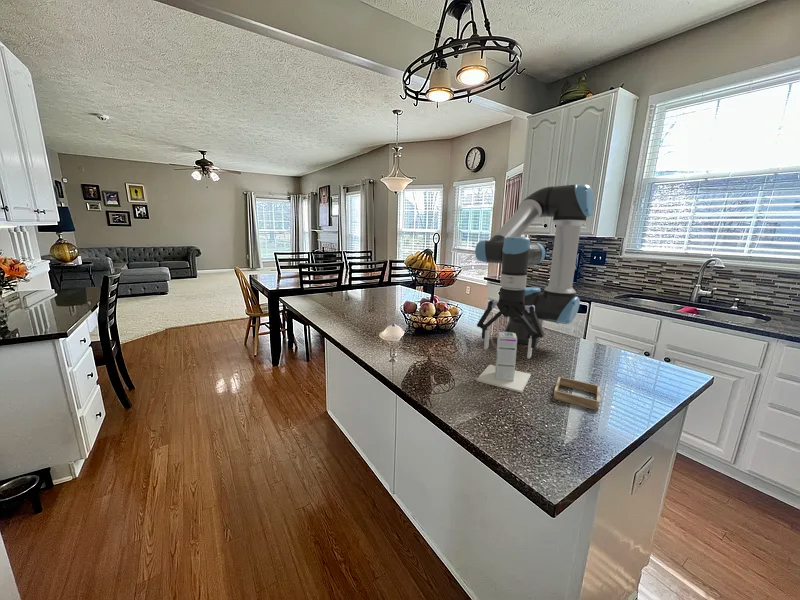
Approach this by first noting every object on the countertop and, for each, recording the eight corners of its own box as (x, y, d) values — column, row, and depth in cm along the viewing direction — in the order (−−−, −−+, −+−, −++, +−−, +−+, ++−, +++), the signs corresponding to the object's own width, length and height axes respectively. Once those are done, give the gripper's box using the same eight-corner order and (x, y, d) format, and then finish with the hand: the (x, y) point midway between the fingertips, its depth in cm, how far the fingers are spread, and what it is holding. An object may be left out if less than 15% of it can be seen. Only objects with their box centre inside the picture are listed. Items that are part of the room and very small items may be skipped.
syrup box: (514, 381, 103) (518, 337, 100) (495, 379, 105) (498, 336, 101) (512, 373, 109) (516, 332, 106) (494, 371, 110) (497, 330, 107)
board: (489, 366, 116) (489, 364, 116) (530, 375, 109) (530, 374, 109) (476, 381, 104) (476, 379, 104) (521, 392, 97) (522, 391, 97)
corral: (557, 383, 104) (558, 376, 103) (598, 393, 98) (599, 385, 97) (553, 398, 94) (554, 390, 94) (598, 410, 88) (599, 401, 88)
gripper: (469, 285, 104) (465, 348, 108) (555, 294, 91) (547, 365, 96) (477, 282, 110) (473, 341, 114) (558, 290, 97) (550, 356, 102)
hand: (506, 352), depth 105 cm, fingers open, 13 cm apart
